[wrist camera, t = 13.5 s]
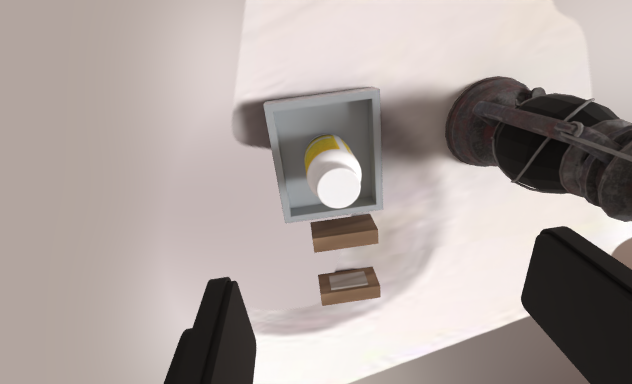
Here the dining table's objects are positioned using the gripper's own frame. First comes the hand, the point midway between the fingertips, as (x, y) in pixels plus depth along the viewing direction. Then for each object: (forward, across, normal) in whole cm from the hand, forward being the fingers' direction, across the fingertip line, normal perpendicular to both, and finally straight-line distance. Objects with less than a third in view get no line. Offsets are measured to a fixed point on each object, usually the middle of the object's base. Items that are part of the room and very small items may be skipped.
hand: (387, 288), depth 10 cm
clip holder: (+27, -1, +20) cm, 33 cm away
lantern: (+28, -20, +5) cm, 35 cm away
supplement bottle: (+27, 0, +5) cm, 28 cm away
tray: (+28, 0, +5) cm, 28 cm away
